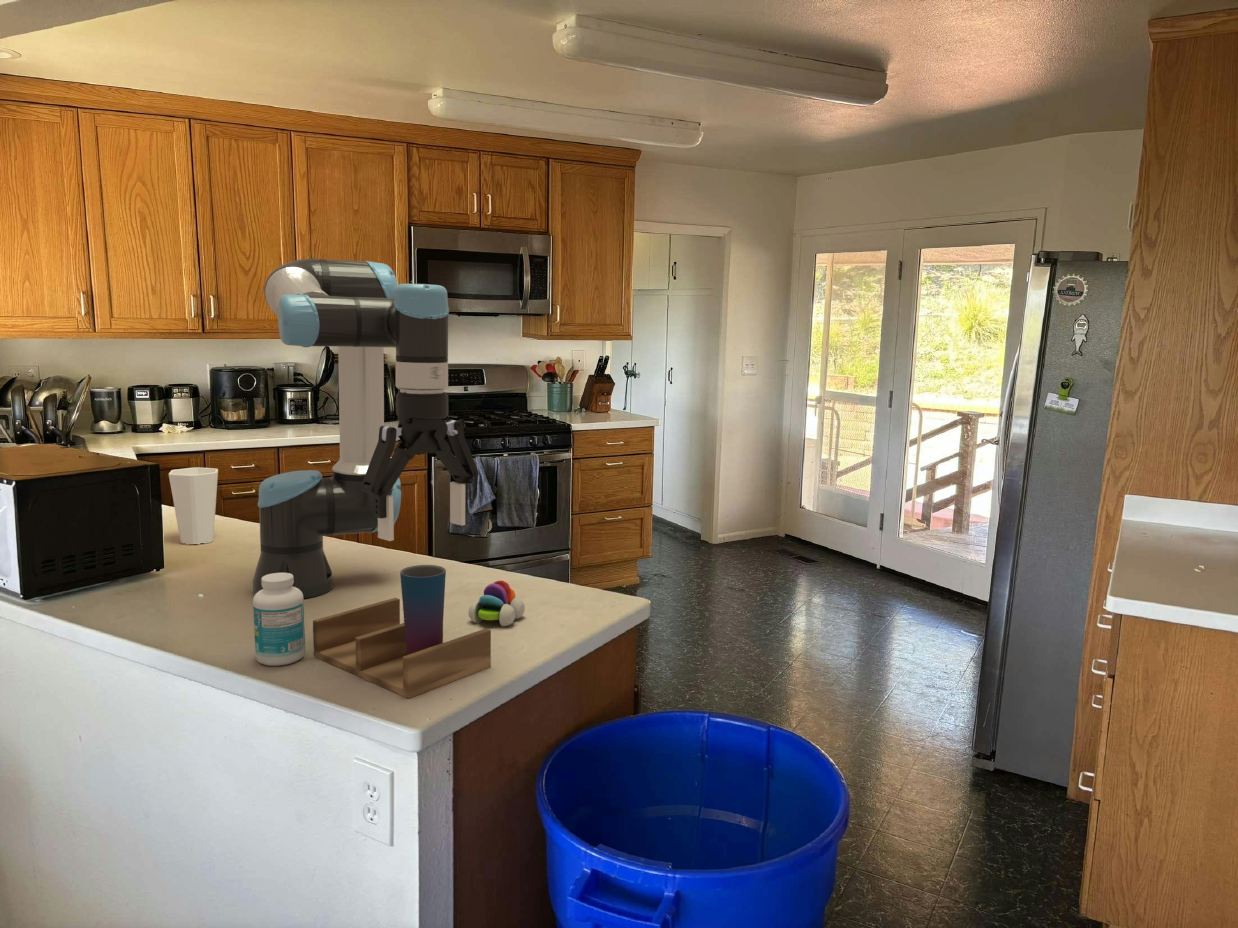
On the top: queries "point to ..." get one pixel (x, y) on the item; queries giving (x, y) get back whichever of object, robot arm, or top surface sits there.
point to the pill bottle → (279, 621)
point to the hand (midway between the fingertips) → (423, 531)
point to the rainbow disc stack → (497, 605)
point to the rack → (395, 650)
